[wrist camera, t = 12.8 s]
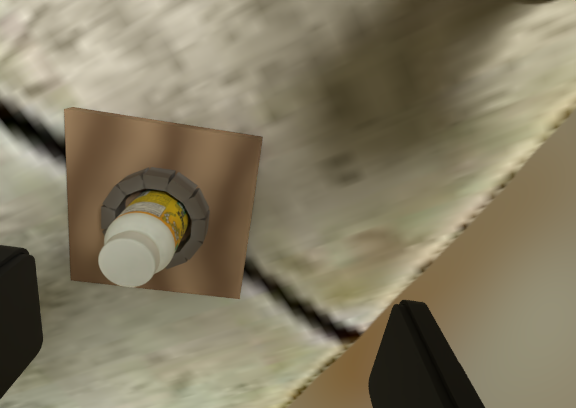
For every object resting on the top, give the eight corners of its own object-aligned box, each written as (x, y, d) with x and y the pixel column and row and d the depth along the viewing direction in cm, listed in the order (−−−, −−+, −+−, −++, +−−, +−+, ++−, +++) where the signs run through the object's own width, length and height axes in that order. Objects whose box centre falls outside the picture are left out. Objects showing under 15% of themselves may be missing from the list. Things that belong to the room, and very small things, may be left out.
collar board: (262, 136, 35) (261, 145, 31) (240, 290, 41) (237, 313, 37) (72, 107, 33) (47, 112, 29) (77, 272, 39) (57, 294, 35)
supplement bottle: (135, 181, 34) (88, 222, 25) (194, 191, 35) (168, 236, 26) (131, 233, 36) (86, 289, 27) (187, 242, 37) (161, 300, 28)
